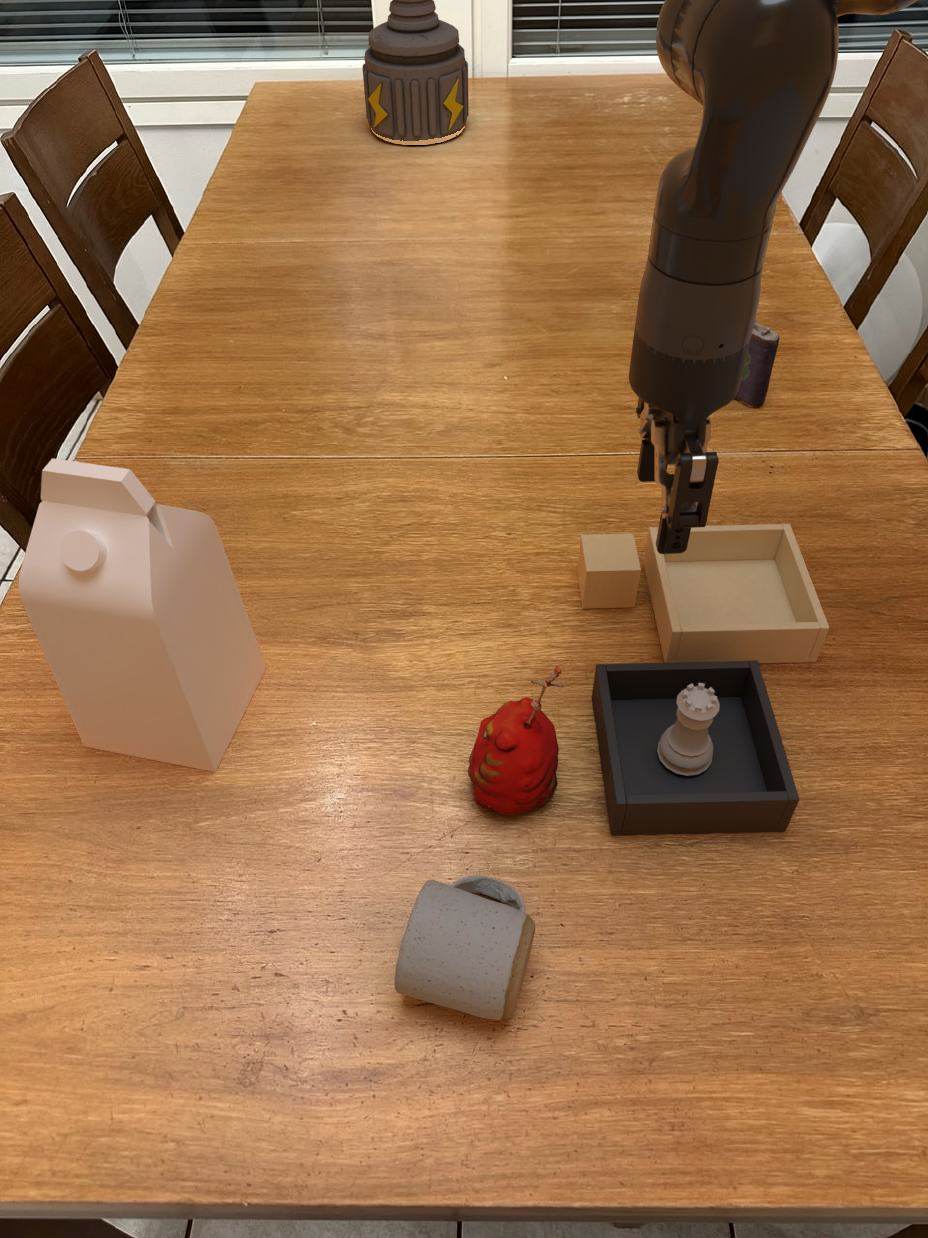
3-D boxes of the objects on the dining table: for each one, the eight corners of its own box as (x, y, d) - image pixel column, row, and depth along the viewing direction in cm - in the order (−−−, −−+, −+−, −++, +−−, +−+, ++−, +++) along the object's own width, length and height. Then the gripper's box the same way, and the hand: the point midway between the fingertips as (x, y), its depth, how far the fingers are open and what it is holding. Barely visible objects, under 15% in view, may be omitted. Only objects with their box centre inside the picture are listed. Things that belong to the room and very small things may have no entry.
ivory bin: (779, 558, 94) (790, 523, 91) (816, 662, 85) (829, 628, 82) (642, 561, 94) (648, 526, 91) (665, 666, 85) (672, 631, 82)
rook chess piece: (666, 726, 80) (680, 665, 74) (718, 745, 78) (737, 684, 72) (649, 766, 77) (662, 706, 71) (702, 787, 76) (720, 727, 70)
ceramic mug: (511, 1044, 63) (515, 997, 57) (395, 1010, 64) (387, 961, 59) (546, 901, 70) (552, 847, 64) (440, 874, 72) (437, 819, 66)
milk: (266, 667, 86) (203, 430, 66) (215, 772, 78) (128, 538, 59) (144, 646, 88) (49, 410, 68) (83, 746, 80) (-42, 512, 61)
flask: (691, 381, 116) (706, 300, 108) (705, 371, 117) (721, 290, 109) (756, 411, 111) (778, 328, 103) (770, 401, 113) (792, 318, 105)
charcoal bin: (746, 694, 83) (757, 659, 79) (785, 831, 73) (800, 799, 70) (591, 697, 83) (595, 663, 79) (610, 835, 73) (616, 804, 70)
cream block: (627, 570, 93) (633, 533, 90) (634, 607, 90) (641, 569, 86) (577, 572, 93) (580, 534, 90) (582, 608, 90) (586, 571, 86)
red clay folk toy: (491, 736, 80) (492, 615, 69) (570, 762, 78) (584, 642, 67) (456, 809, 75) (451, 691, 64) (539, 838, 73) (549, 722, 62)
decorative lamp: (491, 126, 173) (492, -74, 151) (417, 157, 163) (407, -51, 141) (418, 101, 182) (409, -91, 160) (345, 130, 172) (324, -70, 150)
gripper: (779, 383, 57) (728, 575, 69) (725, 269, 67) (689, 455, 79) (655, 388, 57) (626, 579, 69) (619, 273, 67) (599, 458, 78)
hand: (659, 513), depth 74 cm, fingers open, 8 cm apart
